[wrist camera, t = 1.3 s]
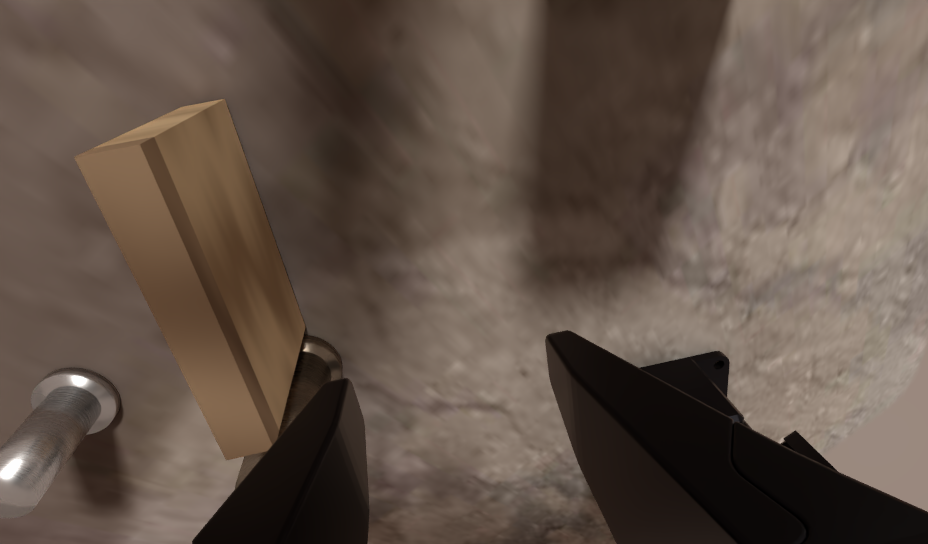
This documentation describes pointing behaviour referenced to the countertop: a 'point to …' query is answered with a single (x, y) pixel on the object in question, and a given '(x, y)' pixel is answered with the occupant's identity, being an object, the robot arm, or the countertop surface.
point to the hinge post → (303, 386)
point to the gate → (205, 265)
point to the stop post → (52, 434)
